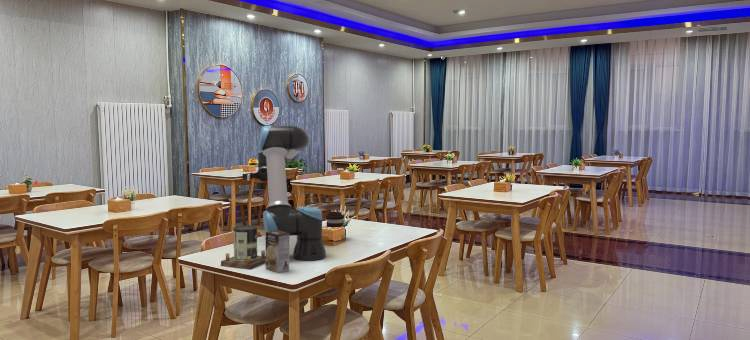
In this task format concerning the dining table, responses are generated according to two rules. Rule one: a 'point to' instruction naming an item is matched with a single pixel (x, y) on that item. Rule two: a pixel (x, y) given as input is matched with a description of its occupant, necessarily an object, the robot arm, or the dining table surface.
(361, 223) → the dining table surface
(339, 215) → the coffee cup
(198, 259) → the dining table surface
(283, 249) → the coffee box
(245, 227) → the coffee can
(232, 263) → the standoff plate
